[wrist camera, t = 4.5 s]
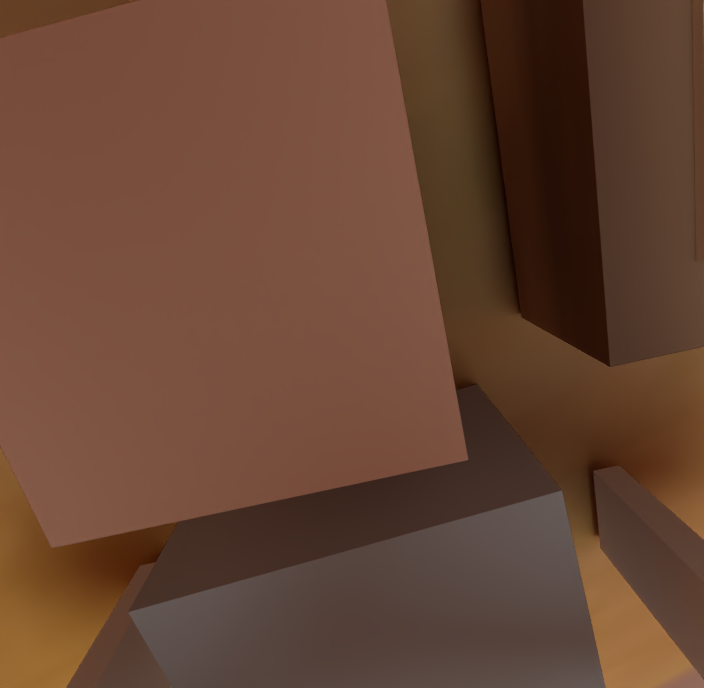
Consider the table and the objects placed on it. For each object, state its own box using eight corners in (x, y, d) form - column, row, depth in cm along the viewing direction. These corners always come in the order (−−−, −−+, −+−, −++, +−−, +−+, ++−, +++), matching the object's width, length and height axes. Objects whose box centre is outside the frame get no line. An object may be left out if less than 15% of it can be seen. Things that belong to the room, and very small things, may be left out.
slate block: (302, 663, 15) (282, 875, 10) (209, 464, 13) (127, 612, 8) (534, 602, 14) (629, 795, 10) (477, 383, 12) (562, 490, 7)
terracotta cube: (192, 390, 12) (52, 548, 6) (110, 159, 10) (-181, 86, 5) (407, 341, 12) (468, 459, 6) (357, 96, 10) (375, -64, 4)
